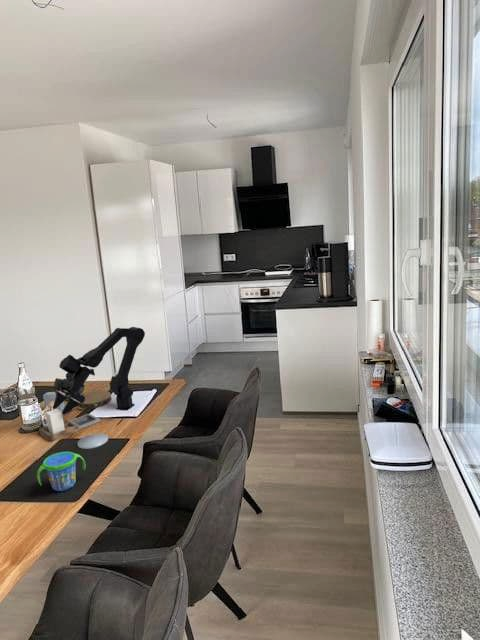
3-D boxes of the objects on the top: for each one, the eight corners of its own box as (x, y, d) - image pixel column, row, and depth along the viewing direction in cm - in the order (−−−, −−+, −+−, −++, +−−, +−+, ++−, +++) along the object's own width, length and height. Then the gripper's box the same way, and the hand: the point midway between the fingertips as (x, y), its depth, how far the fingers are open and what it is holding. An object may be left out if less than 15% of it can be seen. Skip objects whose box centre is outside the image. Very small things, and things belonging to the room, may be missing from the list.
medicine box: (65, 408, 236) (62, 391, 234) (61, 411, 232) (58, 394, 230) (50, 408, 237) (47, 392, 235) (45, 412, 233) (42, 395, 231)
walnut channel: (67, 424, 216) (66, 419, 216) (78, 431, 208) (77, 425, 208) (39, 434, 208) (38, 429, 208) (50, 441, 200) (49, 436, 200)
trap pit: (89, 416, 223) (89, 413, 223) (100, 422, 216) (99, 418, 215) (68, 424, 216) (68, 421, 216) (79, 430, 209) (78, 427, 209)
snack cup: (84, 472, 174) (79, 445, 171) (91, 485, 165) (86, 457, 162) (38, 486, 166) (32, 459, 164) (42, 501, 157) (36, 472, 155)
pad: (114, 436, 200) (113, 434, 200) (96, 450, 190) (96, 448, 189) (89, 433, 205) (89, 432, 204) (71, 447, 194) (71, 446, 193)
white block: (60, 429, 211) (56, 408, 209) (65, 433, 208) (61, 411, 205) (49, 434, 208) (45, 412, 206) (54, 437, 204) (50, 415, 202)
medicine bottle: (74, 397, 249) (70, 375, 246) (65, 395, 253) (61, 374, 250) (85, 392, 255) (81, 371, 252) (76, 391, 259) (72, 369, 256)
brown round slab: (116, 395, 247) (115, 390, 247) (104, 408, 232) (103, 402, 231) (86, 397, 249) (85, 391, 249) (72, 409, 234) (71, 403, 233)
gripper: (54, 366, 214) (34, 398, 209) (73, 374, 200) (52, 408, 195) (74, 378, 221) (54, 409, 216) (94, 386, 207) (73, 419, 202)
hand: (58, 411), depth 207 cm, fingers open, 9 cm apart
